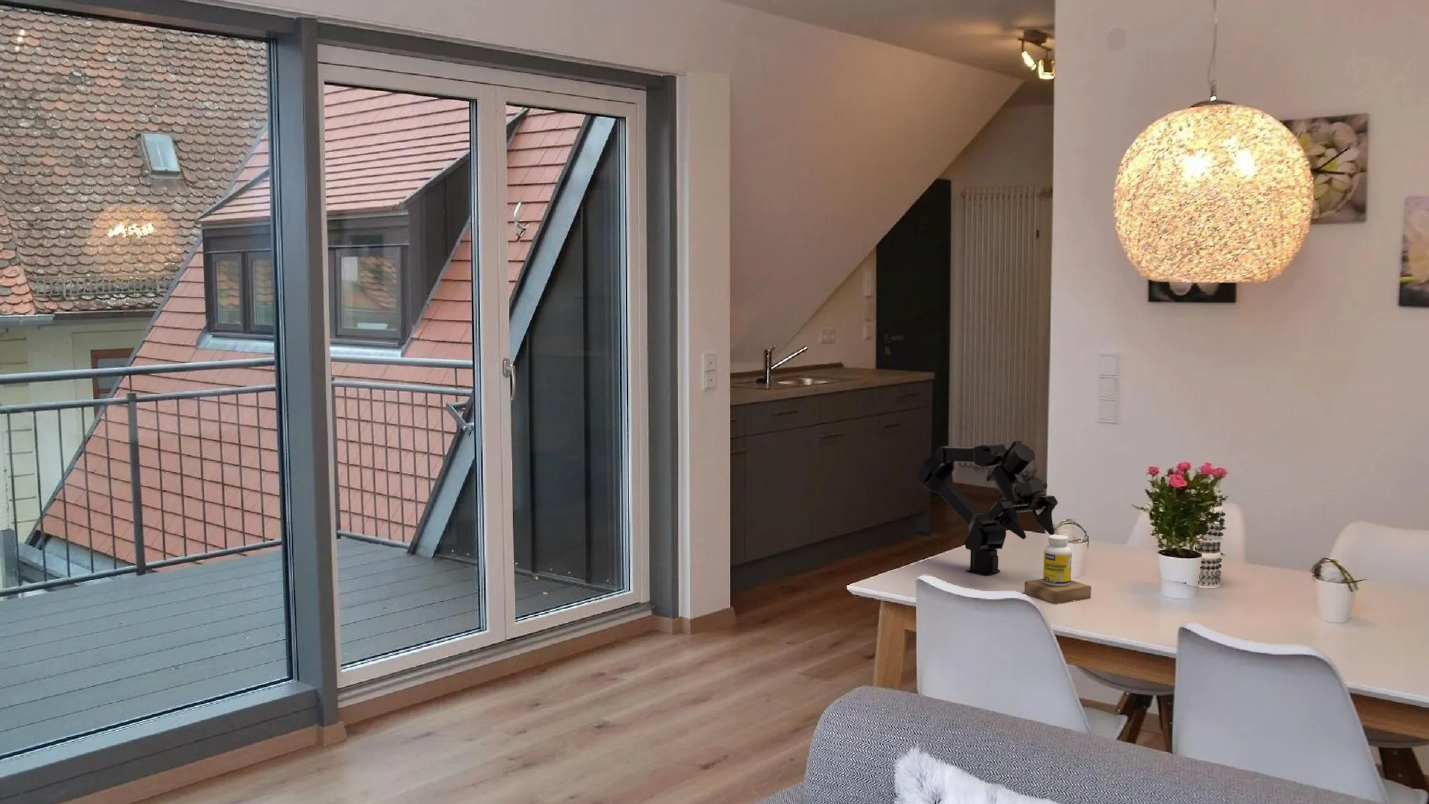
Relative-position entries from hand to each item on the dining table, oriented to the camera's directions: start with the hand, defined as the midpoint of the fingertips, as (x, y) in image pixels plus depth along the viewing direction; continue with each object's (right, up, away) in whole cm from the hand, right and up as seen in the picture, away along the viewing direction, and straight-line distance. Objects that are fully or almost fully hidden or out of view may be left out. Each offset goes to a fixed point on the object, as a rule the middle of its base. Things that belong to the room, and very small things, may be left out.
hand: (1039, 536), depth 297 cm
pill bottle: (+3, -11, -5) cm, 12 cm away
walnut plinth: (+3, -14, -5) cm, 15 cm away
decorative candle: (+43, -13, +7) cm, 46 cm away
